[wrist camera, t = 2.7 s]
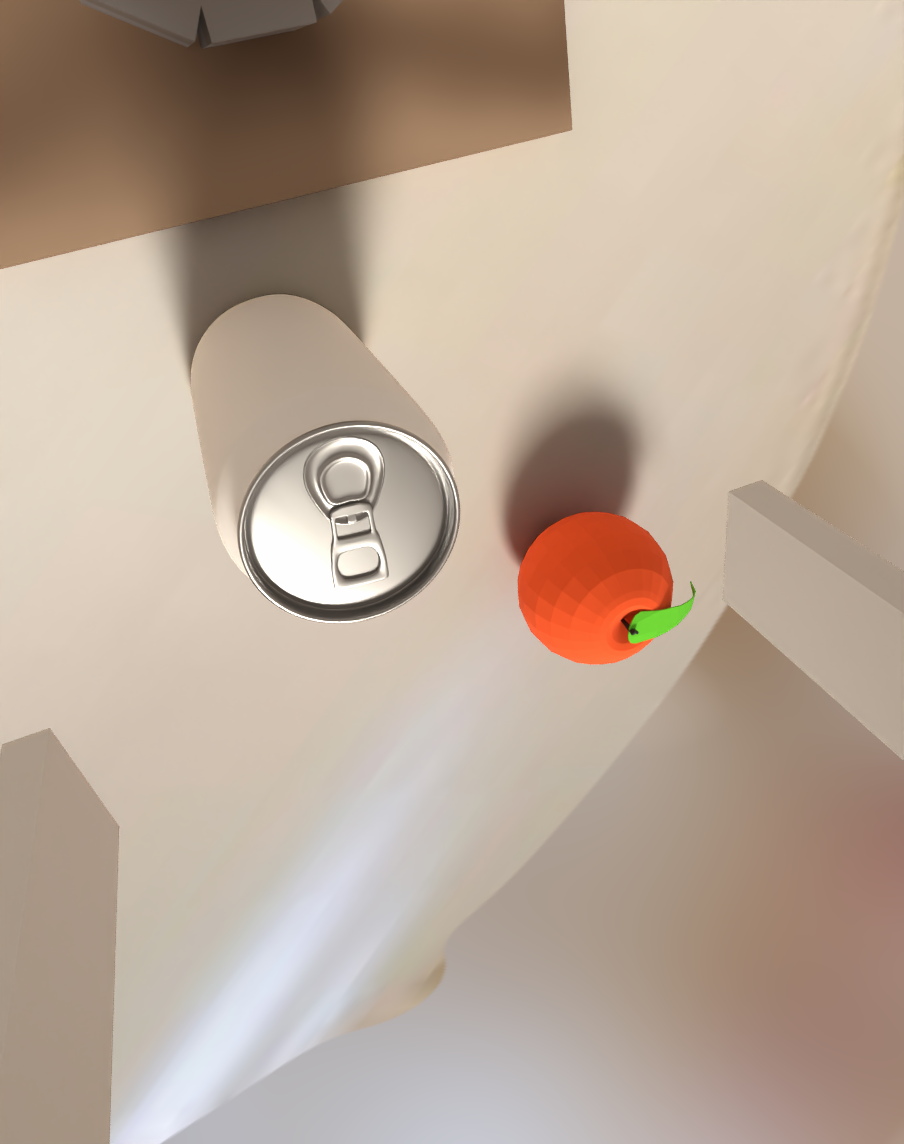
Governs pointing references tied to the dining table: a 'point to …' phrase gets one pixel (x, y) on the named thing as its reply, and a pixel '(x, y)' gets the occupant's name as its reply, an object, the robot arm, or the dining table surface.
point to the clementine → (597, 588)
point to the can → (319, 463)
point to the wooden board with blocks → (251, 104)
